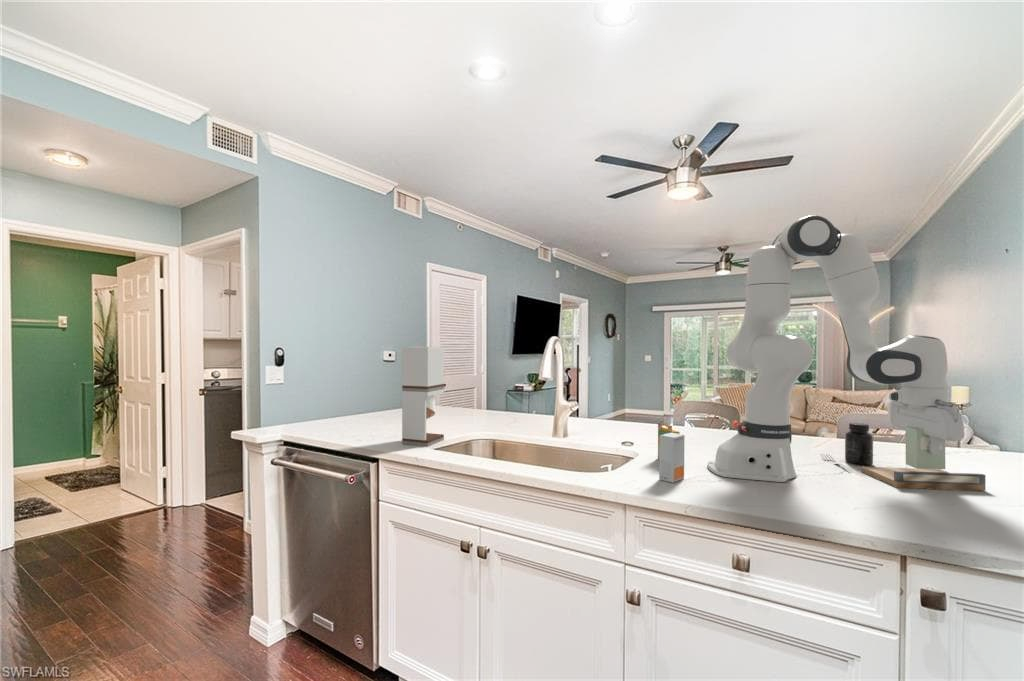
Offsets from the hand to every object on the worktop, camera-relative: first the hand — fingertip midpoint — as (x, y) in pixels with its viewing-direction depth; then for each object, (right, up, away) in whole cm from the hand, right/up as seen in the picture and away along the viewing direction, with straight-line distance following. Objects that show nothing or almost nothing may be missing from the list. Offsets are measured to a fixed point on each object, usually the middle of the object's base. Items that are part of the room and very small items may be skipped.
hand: (924, 450), depth 118 cm
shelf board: (+1, -9, +3) cm, 9 cm away
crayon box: (-59, -9, +23) cm, 64 cm away
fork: (-11, -9, +15) cm, 20 cm away
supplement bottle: (-2, -9, +20) cm, 22 cm away
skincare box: (-64, -9, +4) cm, 65 cm away
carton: (0, -4, 0) cm, 4 cm away
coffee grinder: (-140, -9, +49) cm, 149 cm away
